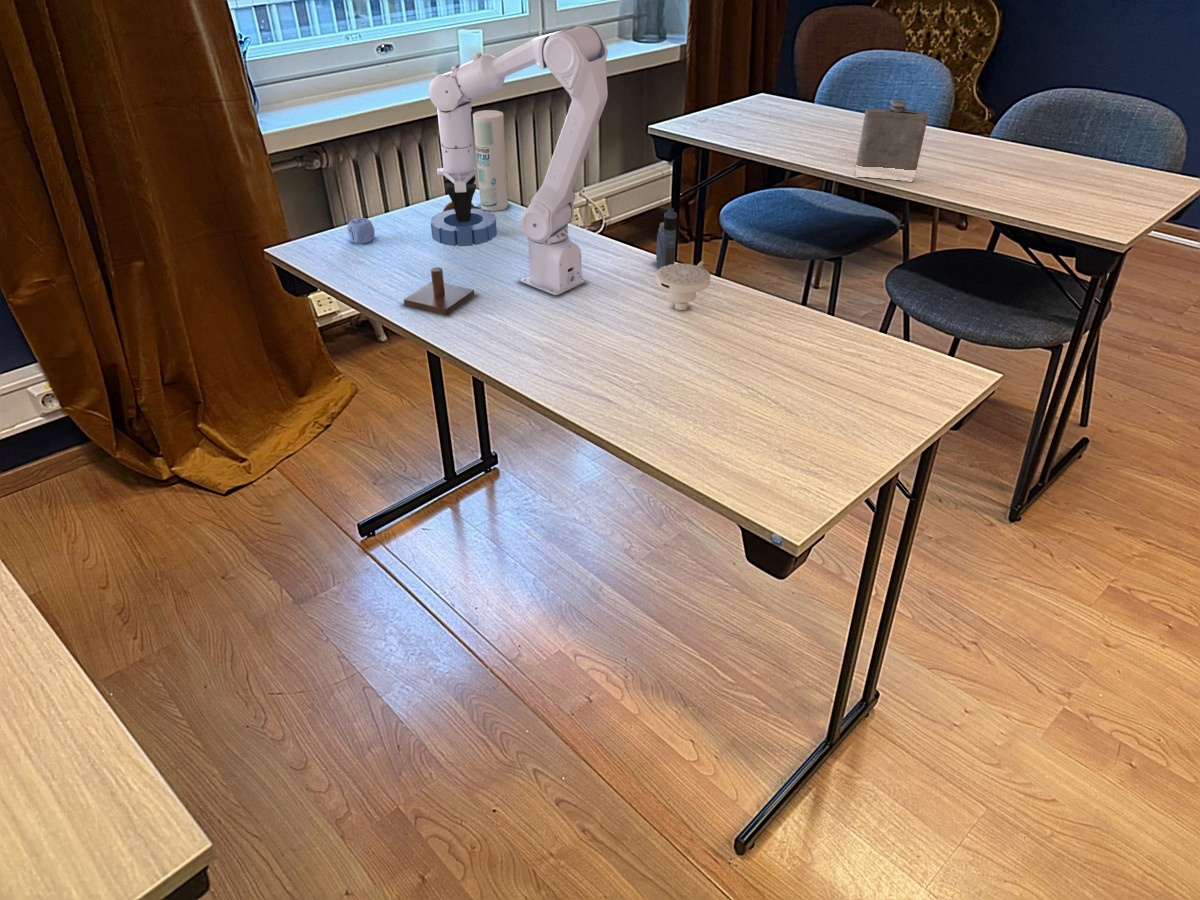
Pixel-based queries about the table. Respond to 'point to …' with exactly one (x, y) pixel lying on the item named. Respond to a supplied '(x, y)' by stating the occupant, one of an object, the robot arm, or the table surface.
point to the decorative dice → (361, 230)
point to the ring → (463, 228)
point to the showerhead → (683, 282)
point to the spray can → (491, 159)
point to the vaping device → (666, 239)
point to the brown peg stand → (439, 295)
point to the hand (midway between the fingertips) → (463, 217)
